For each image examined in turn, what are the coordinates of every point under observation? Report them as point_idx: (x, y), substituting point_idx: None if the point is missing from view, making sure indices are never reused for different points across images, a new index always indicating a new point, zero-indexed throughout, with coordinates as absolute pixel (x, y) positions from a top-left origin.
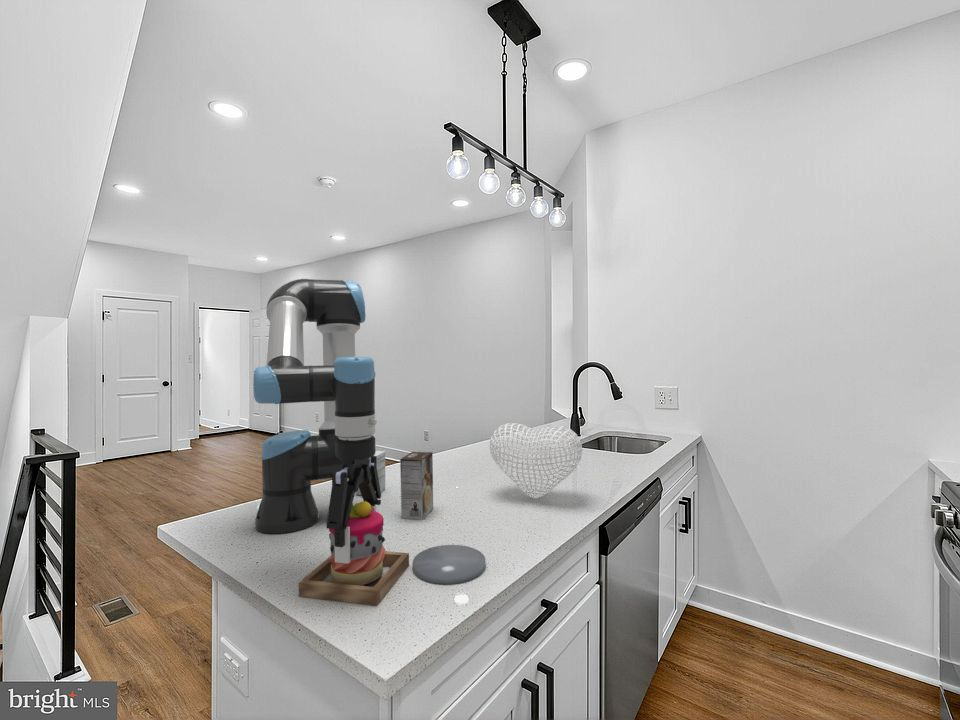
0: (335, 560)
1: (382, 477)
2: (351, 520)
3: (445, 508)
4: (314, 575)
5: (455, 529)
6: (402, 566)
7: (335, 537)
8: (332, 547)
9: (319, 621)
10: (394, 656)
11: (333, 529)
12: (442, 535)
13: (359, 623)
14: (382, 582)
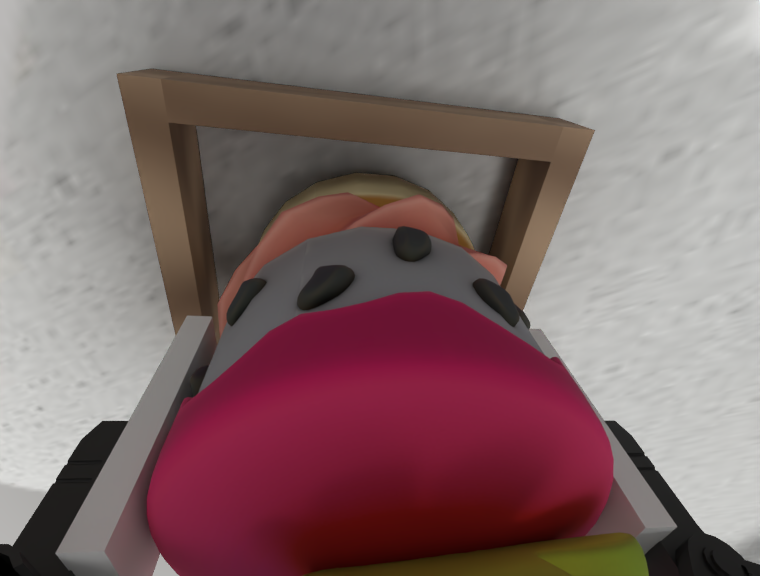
0: (185, 325)
1: None
2: None
3: None
4: (238, 129)
5: (704, 425)
6: None
7: (47, 501)
8: (227, 316)
9: (36, 260)
10: (26, 470)
11: (163, 455)
12: (671, 407)
13: (99, 371)
14: None
